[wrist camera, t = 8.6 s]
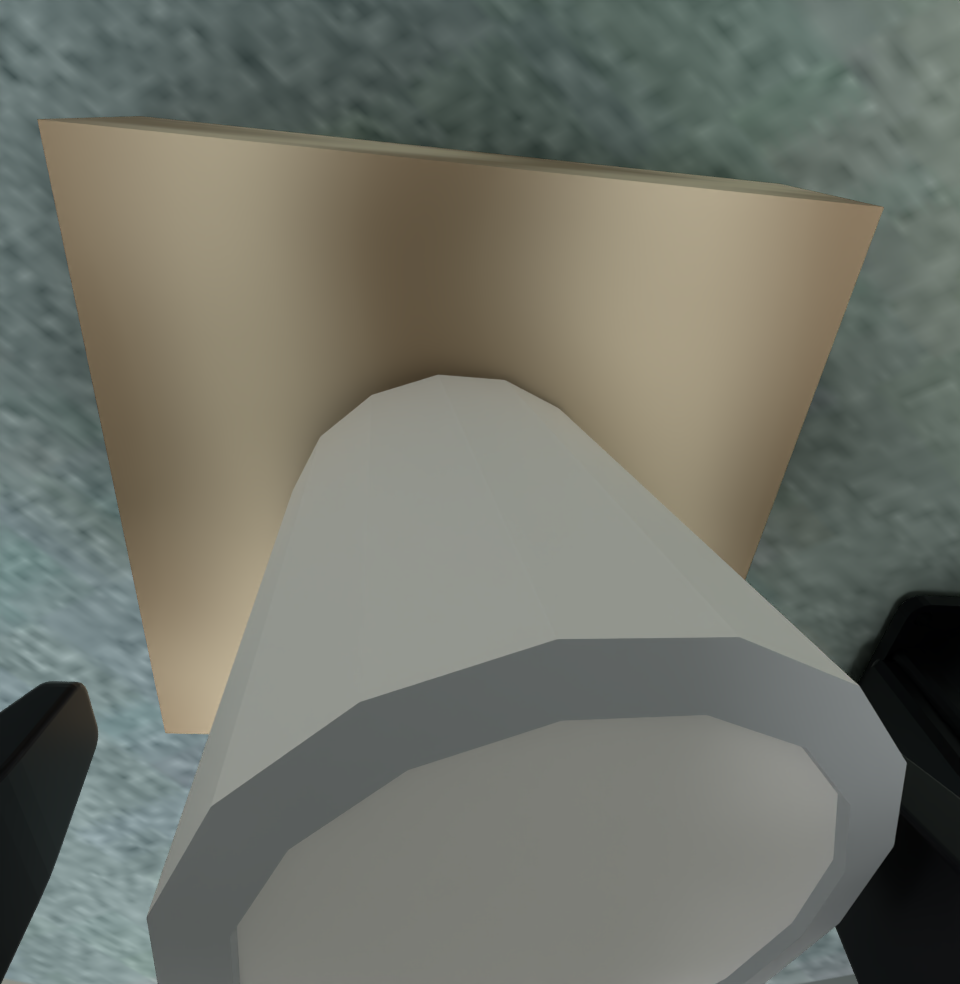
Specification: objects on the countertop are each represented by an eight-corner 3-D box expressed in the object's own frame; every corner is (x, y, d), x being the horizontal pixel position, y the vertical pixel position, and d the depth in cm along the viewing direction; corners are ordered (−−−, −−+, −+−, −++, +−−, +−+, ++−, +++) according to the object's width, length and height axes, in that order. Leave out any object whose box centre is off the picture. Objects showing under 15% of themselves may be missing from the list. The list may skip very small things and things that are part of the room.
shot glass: (161, 463, 10) (-89, 936, 4) (552, 254, 10) (872, 469, 4) (379, 713, 14) (405, 1164, 8) (675, 569, 13) (943, 936, 7)
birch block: (769, 181, 13) (884, 206, 10) (640, 630, 19) (683, 744, 16) (151, 116, 12) (37, 118, 9) (217, 614, 18) (165, 733, 15)
